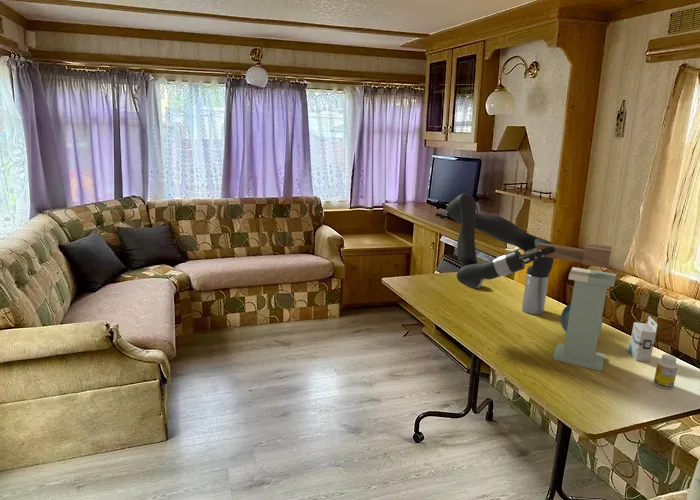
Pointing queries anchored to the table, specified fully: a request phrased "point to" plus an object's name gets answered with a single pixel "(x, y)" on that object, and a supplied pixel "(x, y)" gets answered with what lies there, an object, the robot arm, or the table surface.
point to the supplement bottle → (666, 371)
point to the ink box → (643, 340)
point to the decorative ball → (566, 317)
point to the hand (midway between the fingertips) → (554, 247)
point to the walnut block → (581, 254)
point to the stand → (585, 319)
